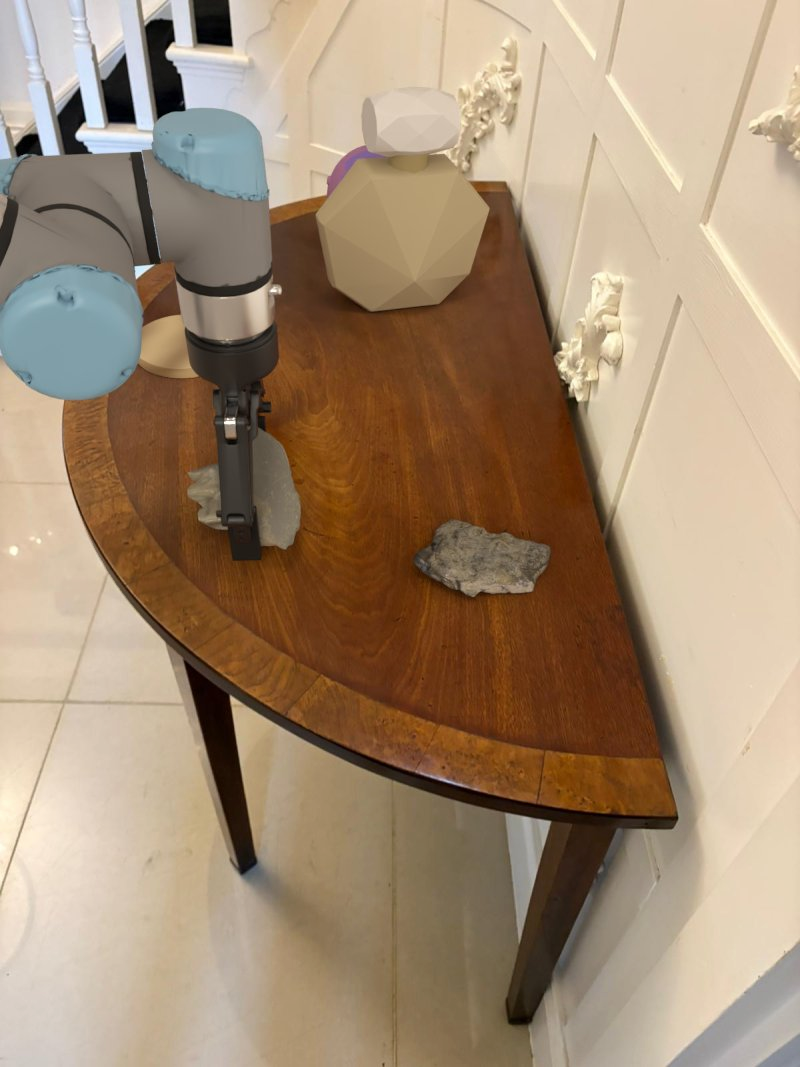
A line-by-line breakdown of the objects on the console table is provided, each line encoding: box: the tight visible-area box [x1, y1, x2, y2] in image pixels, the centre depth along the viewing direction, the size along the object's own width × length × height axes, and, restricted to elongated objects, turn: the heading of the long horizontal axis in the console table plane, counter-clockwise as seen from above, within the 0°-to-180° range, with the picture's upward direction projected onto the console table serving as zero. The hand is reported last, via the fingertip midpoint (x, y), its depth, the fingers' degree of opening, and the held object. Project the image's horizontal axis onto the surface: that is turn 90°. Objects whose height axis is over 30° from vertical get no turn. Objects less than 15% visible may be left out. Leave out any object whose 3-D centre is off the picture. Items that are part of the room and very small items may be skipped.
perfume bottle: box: [315, 86, 491, 313], centre depth 105 cm, size 12×24×28 cm, turn 108°
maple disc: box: [137, 314, 201, 379], centre depth 101 cm, size 13×13×2 cm
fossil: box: [186, 425, 302, 550], centre depth 77 cm, size 14×10×10 cm
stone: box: [412, 518, 552, 598], centre depth 77 cm, size 14×8×3 cm, turn 76°
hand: (252, 509), depth 80 cm, fingers closed on fossil, 12 cm apart
